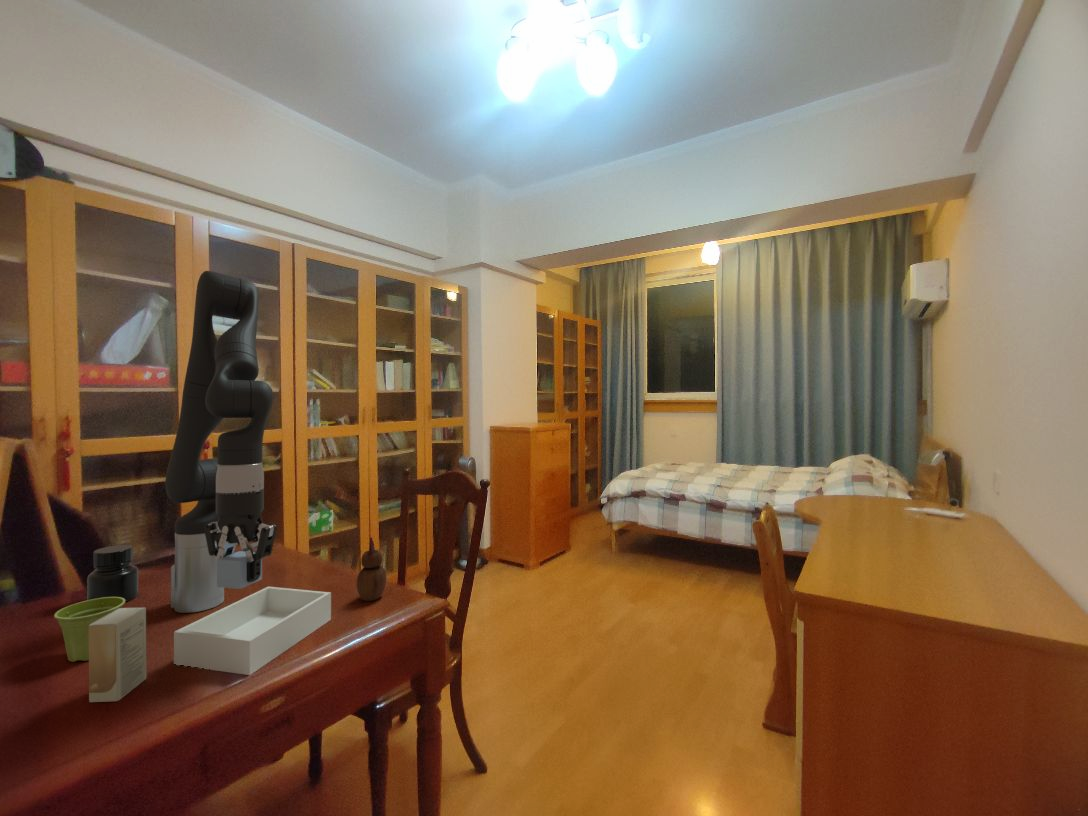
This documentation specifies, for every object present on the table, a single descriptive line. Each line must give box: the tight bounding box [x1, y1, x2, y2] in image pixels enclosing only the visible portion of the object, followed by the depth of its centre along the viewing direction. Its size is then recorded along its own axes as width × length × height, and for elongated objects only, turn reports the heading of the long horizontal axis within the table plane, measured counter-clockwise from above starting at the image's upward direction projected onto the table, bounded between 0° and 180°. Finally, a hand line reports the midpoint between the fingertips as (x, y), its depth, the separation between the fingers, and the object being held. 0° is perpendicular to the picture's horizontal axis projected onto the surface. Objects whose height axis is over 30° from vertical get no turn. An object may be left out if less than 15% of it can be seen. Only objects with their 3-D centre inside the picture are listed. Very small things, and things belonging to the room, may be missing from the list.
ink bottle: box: [86, 544, 139, 603], centre depth 111 cm, size 10×9×12 cm
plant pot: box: [53, 597, 126, 663], centre depth 87 cm, size 9×9×9 cm
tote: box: [173, 586, 332, 676], centre depth 93 cm, size 16×22×6 cm
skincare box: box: [88, 607, 147, 703], centre depth 76 cm, size 6×4×12 cm
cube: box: [217, 550, 263, 590], centre depth 88 cm, size 5×5×5 cm
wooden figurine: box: [356, 537, 387, 602], centre depth 113 cm, size 7×6×15 cm
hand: (240, 579), depth 88 cm, fingers closed on cube, 5 cm apart
